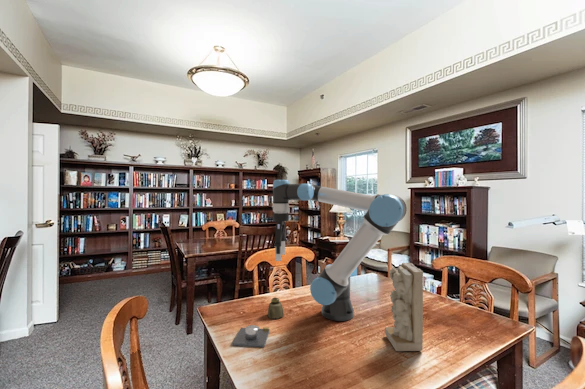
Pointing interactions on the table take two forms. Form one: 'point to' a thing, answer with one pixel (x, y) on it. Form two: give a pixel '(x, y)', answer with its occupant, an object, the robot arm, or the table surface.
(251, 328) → the grey plate with knob
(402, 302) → the sculpture
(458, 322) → the table surface
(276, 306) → the scalloped lamp shade
